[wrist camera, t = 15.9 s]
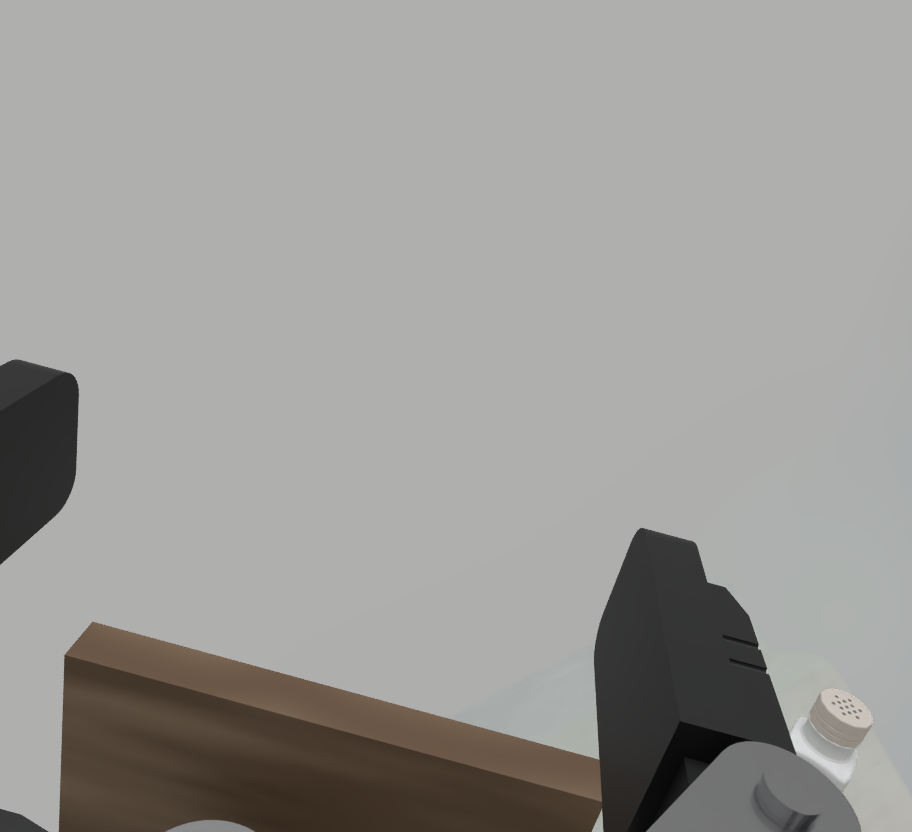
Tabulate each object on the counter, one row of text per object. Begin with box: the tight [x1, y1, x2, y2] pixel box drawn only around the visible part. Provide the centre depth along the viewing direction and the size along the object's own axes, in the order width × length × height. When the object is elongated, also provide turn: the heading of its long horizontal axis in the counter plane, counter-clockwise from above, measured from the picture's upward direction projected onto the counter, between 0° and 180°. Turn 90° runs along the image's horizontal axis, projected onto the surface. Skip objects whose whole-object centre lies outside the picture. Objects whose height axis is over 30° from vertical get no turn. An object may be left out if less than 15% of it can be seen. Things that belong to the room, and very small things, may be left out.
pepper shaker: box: [789, 688, 873, 792], centre depth 51 cm, size 4×4×10 cm
